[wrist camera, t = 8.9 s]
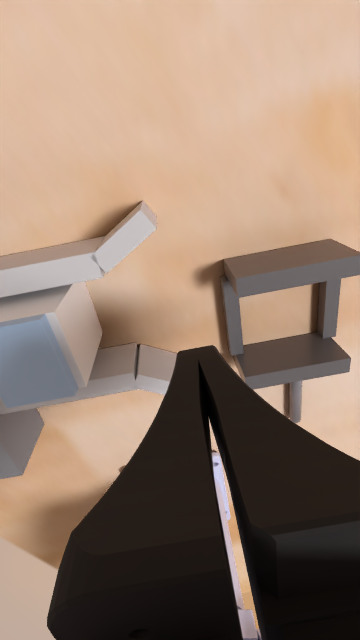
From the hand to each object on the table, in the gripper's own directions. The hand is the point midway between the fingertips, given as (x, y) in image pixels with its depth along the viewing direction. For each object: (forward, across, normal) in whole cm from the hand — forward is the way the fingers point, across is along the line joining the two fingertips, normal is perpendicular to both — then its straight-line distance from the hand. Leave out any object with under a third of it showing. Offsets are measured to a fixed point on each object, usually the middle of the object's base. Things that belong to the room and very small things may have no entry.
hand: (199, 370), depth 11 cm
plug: (+7, +7, 0) cm, 10 cm away
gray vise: (+7, -5, +5) cm, 11 cm away
